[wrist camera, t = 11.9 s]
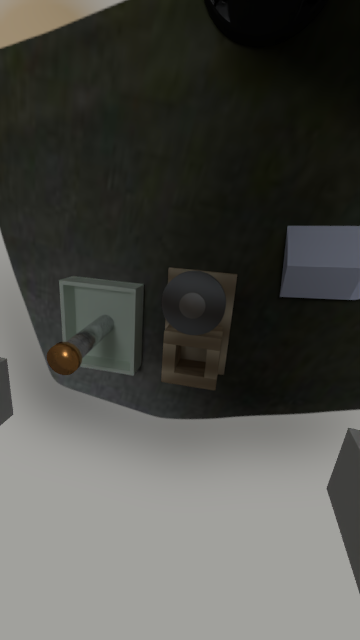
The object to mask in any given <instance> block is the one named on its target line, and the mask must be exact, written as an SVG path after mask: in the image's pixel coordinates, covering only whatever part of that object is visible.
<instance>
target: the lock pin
mask: <svg viewBox="0 0 360 640" xmlns="http://www.w3.org/2000/svg"><path fill="white" fill-rule="evenodd" d="M113 328H114V321H113V319H112V318H111V317H110V316H108V315H101V316H99V317H98V318H97V319H95V320H94V321H93V322H91V323H90V324H89V325H88V326H86V327H85V328H84V329H82V330H81V331H80V332H78V333H77V334H76V335H74V336H73V337H72V338H71V339H69V340H68V341H67V342H59V343H57V344H56V345H55V346H53V347H52V348H51V349H50V350H49V351H48V353H47V361H48V364H49V366H50V367H51V368H52V369H53V370H54V371H55V372H57V373H59V374H62V375H70V374H72V373H73V372H75V371H76V370H77V369H78V368H79V367H80V365H81V363H82V358H83V357H84V356H85V355H86V354H87V353H88V352H90V351H91V350H92V349H93V348H94V347H95V346H96V345H97V344H98V343H99V342H100V341H101V340H102V339H103V338H104V337H105V336H106V335H107V334H108V333H109V332H110V331H112V330H113Z"/></svg>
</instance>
